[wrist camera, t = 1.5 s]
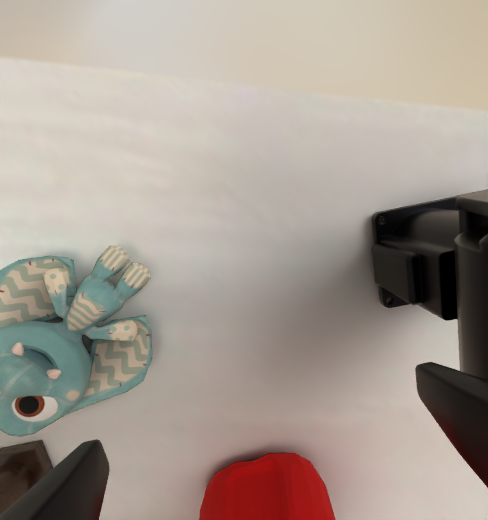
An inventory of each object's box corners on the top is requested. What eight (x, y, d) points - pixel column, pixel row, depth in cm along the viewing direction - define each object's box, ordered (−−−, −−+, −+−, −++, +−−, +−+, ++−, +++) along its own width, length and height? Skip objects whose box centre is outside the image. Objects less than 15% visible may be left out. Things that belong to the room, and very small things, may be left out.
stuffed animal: (205, 332, 15) (37, 532, 14) (201, 303, 22) (89, 434, 21) (15, 183, 13) (-189, 402, 12) (77, 203, 20) (-50, 343, 19)
